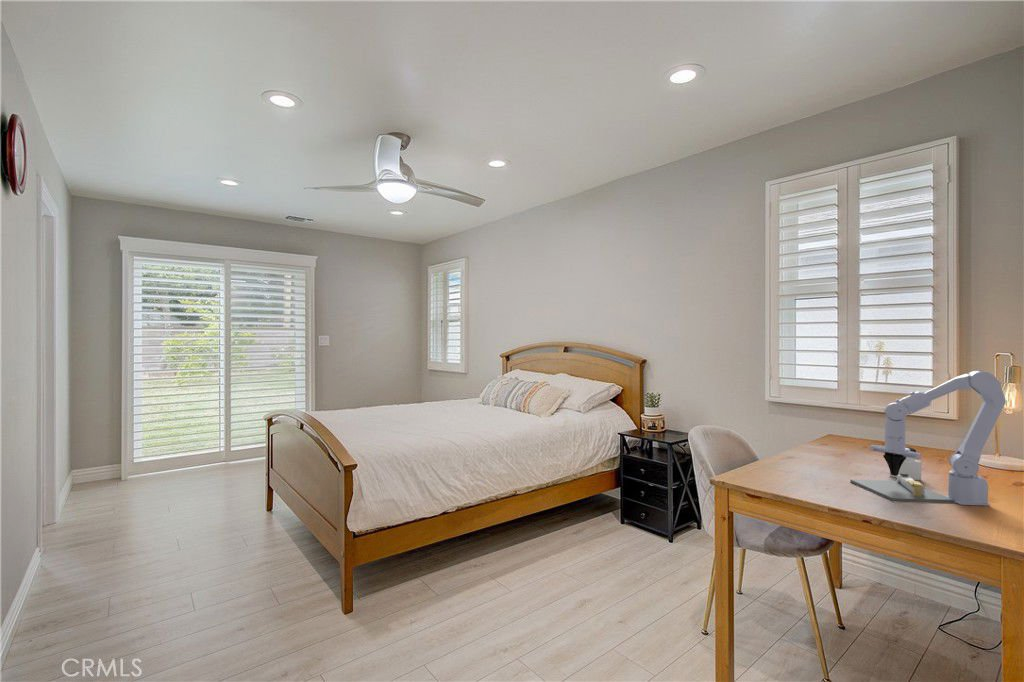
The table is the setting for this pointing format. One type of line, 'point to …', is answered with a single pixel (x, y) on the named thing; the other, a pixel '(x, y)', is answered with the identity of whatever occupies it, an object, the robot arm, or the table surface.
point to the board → (899, 491)
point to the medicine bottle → (911, 466)
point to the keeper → (916, 488)
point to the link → (903, 481)
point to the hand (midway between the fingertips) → (894, 475)
